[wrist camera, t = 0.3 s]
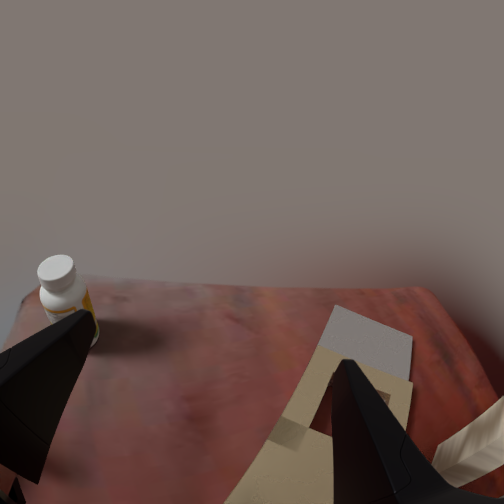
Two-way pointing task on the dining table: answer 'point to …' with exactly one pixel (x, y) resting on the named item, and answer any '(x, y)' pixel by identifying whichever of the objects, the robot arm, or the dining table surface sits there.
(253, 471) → the plate with square hole
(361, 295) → the dining table surface
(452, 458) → the maple pin
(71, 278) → the supplement bottle
